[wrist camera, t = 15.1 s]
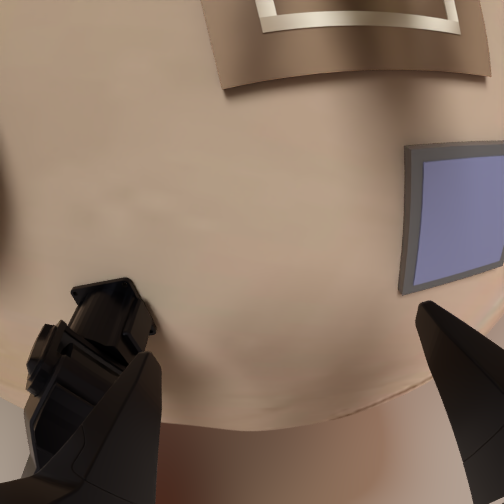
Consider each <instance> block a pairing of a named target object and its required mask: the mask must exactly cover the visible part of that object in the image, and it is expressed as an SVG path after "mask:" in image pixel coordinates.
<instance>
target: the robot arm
mask: <svg viewBox="0 0 504 504" xmlns="http://www.w3.org/2000/svg"><path fill="white" fill-rule="evenodd" d="M124 283H126V284H127V285H126V284H124ZM71 295H72V296H73V298H74V300H75V301H76V303H77V304H78V306H77V308H76V310H75V312H74V314H73V316H72V318H71V320H70V322H69V324H68V326H67V324H66V323H65V322H64V321H63V320H60V321H59V322H58V324H57V325H56V326H55V325H49V324H45V325H44V326H43V328H42V329H41V331H40V333H39V335H38V337H37V339H36V341H35V343H34V345H33V347H32V350H31V353H30V355H29V358H28V361H27V364H26V365H27V369H28V377H27V384H26V390H27V391H29V392H30V393H31V394H30V396H29V399H28V401H27V403H26V406H25V408H24V419H25V426H26V433H27V439H28V444H29V450H30V455H29V458H28V460H27V463H26V466H25V469H24V471H23V474H22V477H21V479H17V480H13V481H9V482H4V483H0V504H155V496H156V477H157V460H158V446H159V434H160V423H161V412H162V371H161V367H160V365H159V363H158V362H157V360H156V359H155V357H154V356H153V354H152V353H151V352H149V351H147V352H144V351H145V347H146V344H147V340H148V336H149V335H154V334H156V330H157V328H156V326H155V325H154V323H153V319H152V317H151V316H150V314H149V312H148V310H147V308H146V306H145V304H144V303H143V301H142V300H141V299H140V297H139V295H138V293H137V291H136V289H135V288H134V286H133V284H132V282H131V280H130V279H128V278H119V279H113V280H108V281H103V282H97V283H92V284H87V285H81V286H76V287H73V288H72V290H71ZM415 324H416V328H417V331H418V334H419V337H420V341H421V344H422V347H423V350H424V354H425V357H426V360H427V363H428V366H429V369H430V371H431V373H432V376H433V378H434V381H435V383H436V386H437V388H438V390H439V393H440V396H441V399H442V401H443V404H444V407H445V409H446V412H447V415H448V418H449V421H450V423H451V426H452V429H453V432H454V435H455V438H456V441H457V444H458V448H459V451H460V454H461V457H462V461H463V465H464V468H465V472H466V476H467V479H468V483H469V487H470V491H471V495H472V499H473V504H489V503H491V502H493V501H496V500H498V499H500V498H502V497H504V349H502V348H501V347H499V346H498V345H497V344H495V343H494V342H492V341H491V340H489V339H488V338H486V337H485V336H484V335H482V334H481V333H479V332H478V331H476V330H475V329H473V328H472V327H470V326H469V325H468V324H466V323H465V322H463V321H462V320H460V319H459V318H457V317H456V316H454V315H453V314H451V313H450V312H448V311H446V310H445V309H443V308H442V307H440V306H439V305H437V304H436V303H434V302H433V301H425V302H422V303H420V304H419V306H418V311H417V315H416V320H415ZM502 504H504V503H502Z"/></svg>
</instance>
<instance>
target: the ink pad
mask: <svg viewBox="0 0 504 504" xmlns="http://www.w3.org/2000/svg"><path fill="white" fill-rule="evenodd" d="M404 152H405V203H404V226H403V242H402V254H401V265H400V274H399V283H398V290H399V291H400V293H401V295H406V294H410V293H414V292H418V291H421V290H425V289H429V288H432V287H436V286H439V285H443V284H446V283H450V282H453V281H456V280H460V279H463V278H466V277H470V276H473V275H476V274H479V273H482V272H485V271H488V270H491V269H495V268H498V267H500V266H503V263H504V141H469V142H449V143H433V144H420V145H409V146H404Z"/></svg>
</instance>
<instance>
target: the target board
mask: <svg viewBox="0 0 504 504" xmlns="http://www.w3.org/2000/svg"><path fill="white" fill-rule="evenodd" d="M201 4H202V8H203V12H204V16H205V21H206V25H207V29H208V33H209V37H210V41H211V45H212V50H213V54H214V58H215V62H216V66H217V71H218V75H219V79H220V83H221V87H222V89H226V88H231V87H236V86H240V85H245V84H251V83H256V82H262V81H267V80H273V79H280V78H287V77H294V76H302V75H310V74H319V73H330V72H343V71H360V70H427V71H443V72H455V73H465V74H474V75H481V76H488V77H491V66H490V57H489V49H488V42H487V35H486V29H485V24H484V19H483V14H482V9H481V5H480V0H201Z"/></svg>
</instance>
